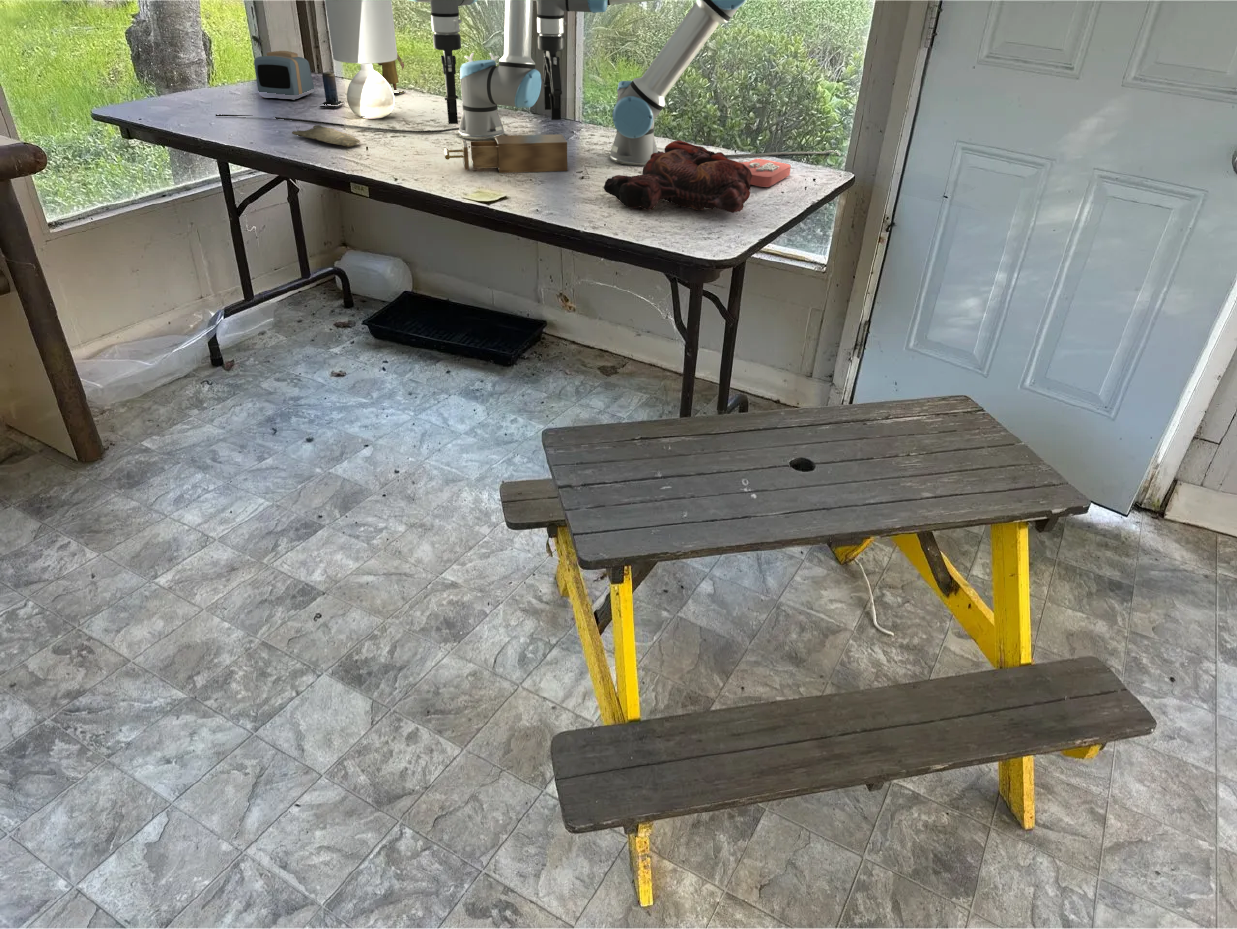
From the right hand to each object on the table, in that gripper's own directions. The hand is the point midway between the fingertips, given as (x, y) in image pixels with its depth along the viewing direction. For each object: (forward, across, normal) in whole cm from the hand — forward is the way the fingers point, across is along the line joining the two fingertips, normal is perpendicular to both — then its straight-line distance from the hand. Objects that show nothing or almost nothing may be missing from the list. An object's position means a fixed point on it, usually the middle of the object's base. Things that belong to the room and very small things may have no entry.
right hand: (552, 114), depth 251 cm
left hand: (+2, 0, +29) cm, 29 cm away
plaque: (+16, -19, -59) cm, 64 cm away
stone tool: (+14, +38, +68) cm, 79 cm away
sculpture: (+15, -42, -27) cm, 52 cm away
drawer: (+14, 0, +20) cm, 25 cm away
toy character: (+15, +79, +14) cm, 82 cm away
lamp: (+14, +72, +55) cm, 92 cm away
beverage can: (+14, +89, +70) cm, 115 cm away
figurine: (+14, +112, +48) cm, 123 cm away
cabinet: (+15, 0, +7) cm, 17 cm away
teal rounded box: (+14, +110, +88) cm, 141 cm away
